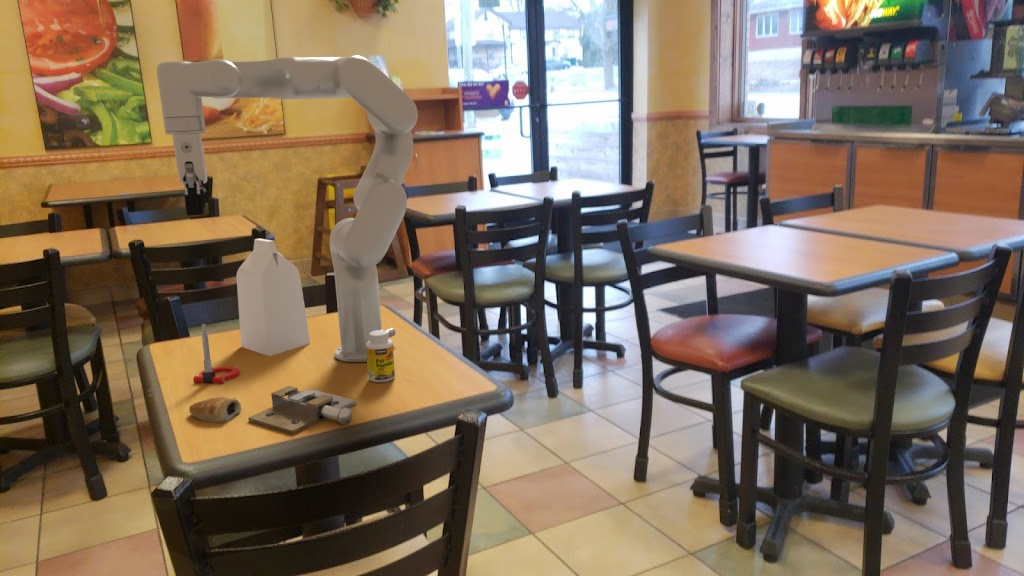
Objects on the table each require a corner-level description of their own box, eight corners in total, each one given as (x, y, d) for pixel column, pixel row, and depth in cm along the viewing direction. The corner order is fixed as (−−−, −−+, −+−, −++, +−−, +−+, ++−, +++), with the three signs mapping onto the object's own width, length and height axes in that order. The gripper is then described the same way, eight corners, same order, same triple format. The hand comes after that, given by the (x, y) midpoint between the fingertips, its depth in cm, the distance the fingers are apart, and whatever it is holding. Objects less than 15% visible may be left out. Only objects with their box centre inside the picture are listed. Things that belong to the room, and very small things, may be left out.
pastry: (181, 421, 149) (179, 402, 148) (204, 407, 155) (202, 389, 155) (224, 425, 147) (222, 405, 146) (245, 411, 153) (243, 392, 152)
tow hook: (211, 370, 177) (189, 383, 168) (206, 314, 174) (183, 325, 165) (247, 371, 176) (226, 385, 167) (241, 315, 173) (220, 325, 164)
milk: (241, 346, 191) (228, 241, 185) (282, 334, 200) (270, 233, 193) (269, 356, 184) (256, 246, 177) (310, 343, 192) (299, 238, 186)
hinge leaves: (312, 393, 160) (311, 376, 159) (356, 404, 154) (354, 386, 153) (248, 421, 147) (246, 403, 146) (293, 434, 141) (290, 416, 140)
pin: (304, 407, 152) (302, 393, 152) (353, 421, 146) (351, 406, 145) (292, 413, 150) (290, 398, 149) (341, 427, 143) (339, 411, 142)
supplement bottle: (375, 385, 163) (371, 338, 161) (364, 378, 168) (360, 332, 165) (399, 379, 166) (396, 333, 164) (388, 372, 171) (384, 327, 168)
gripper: (204, 126, 150) (215, 215, 154) (205, 123, 166) (216, 204, 170) (161, 128, 148) (174, 219, 152) (167, 125, 163) (178, 207, 168)
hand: (196, 211), depth 161 cm, fingers open, 9 cm apart
